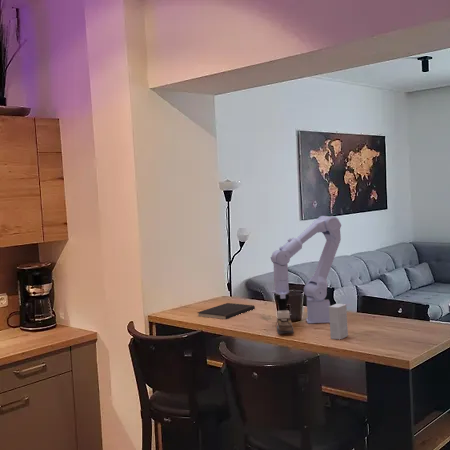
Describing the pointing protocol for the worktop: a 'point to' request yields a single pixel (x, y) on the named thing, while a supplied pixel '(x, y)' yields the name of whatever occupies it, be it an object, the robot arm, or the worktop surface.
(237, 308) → the hardcover book
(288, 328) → the beam
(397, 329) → the worktop surface
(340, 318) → the skincare box
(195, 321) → the worktop surface
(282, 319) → the rider
